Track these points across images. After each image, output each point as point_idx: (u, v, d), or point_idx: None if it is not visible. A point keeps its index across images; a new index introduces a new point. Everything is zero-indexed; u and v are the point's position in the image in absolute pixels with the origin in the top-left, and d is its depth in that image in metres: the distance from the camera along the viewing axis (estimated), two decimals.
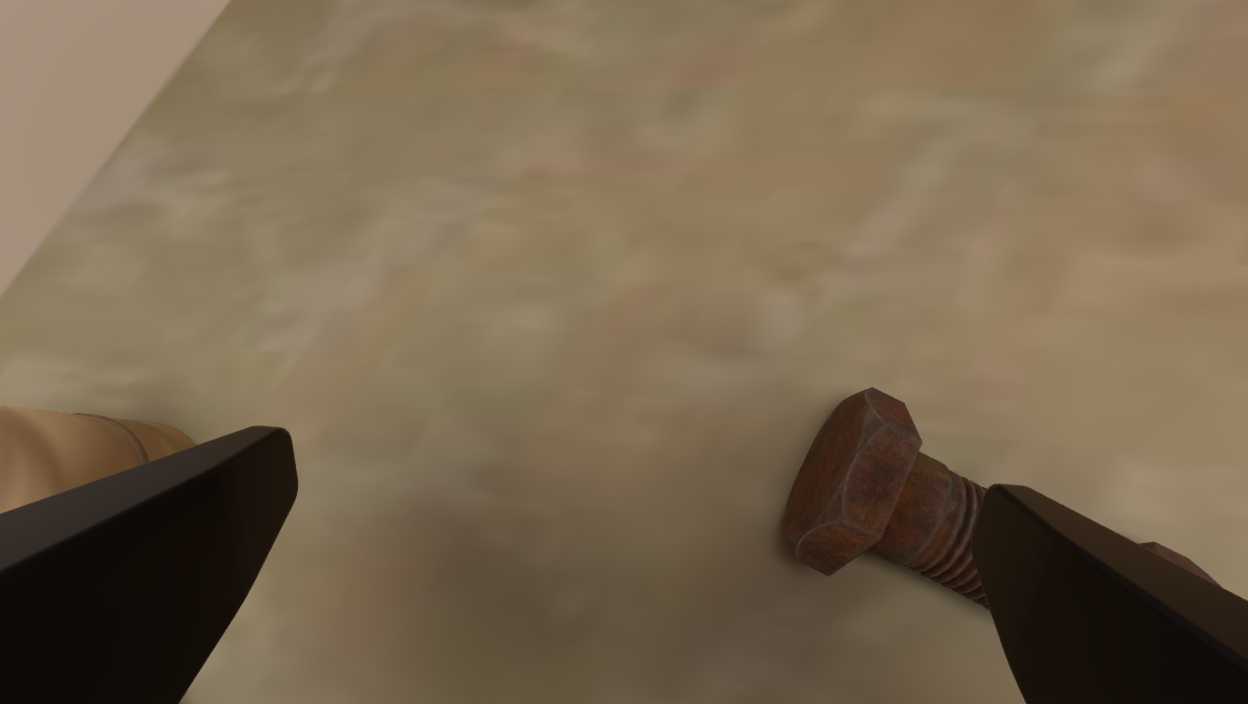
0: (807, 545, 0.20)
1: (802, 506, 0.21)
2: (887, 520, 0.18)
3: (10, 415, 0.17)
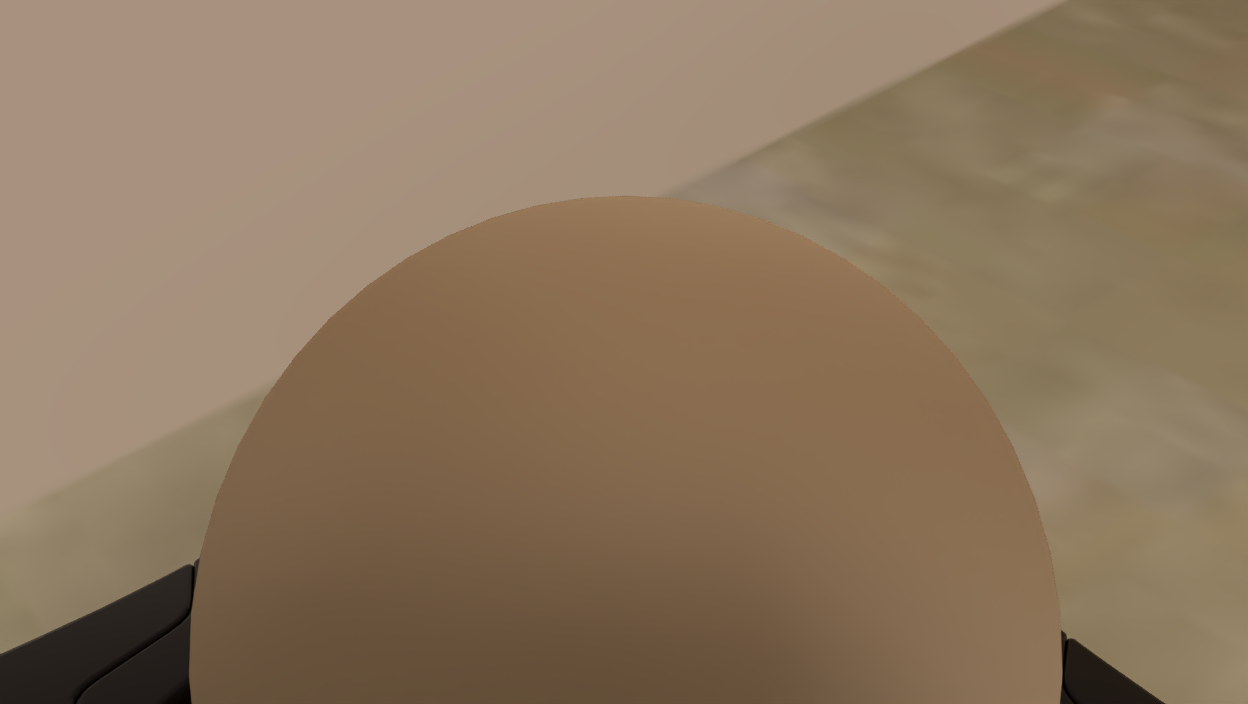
0: None
1: None
2: None
3: None
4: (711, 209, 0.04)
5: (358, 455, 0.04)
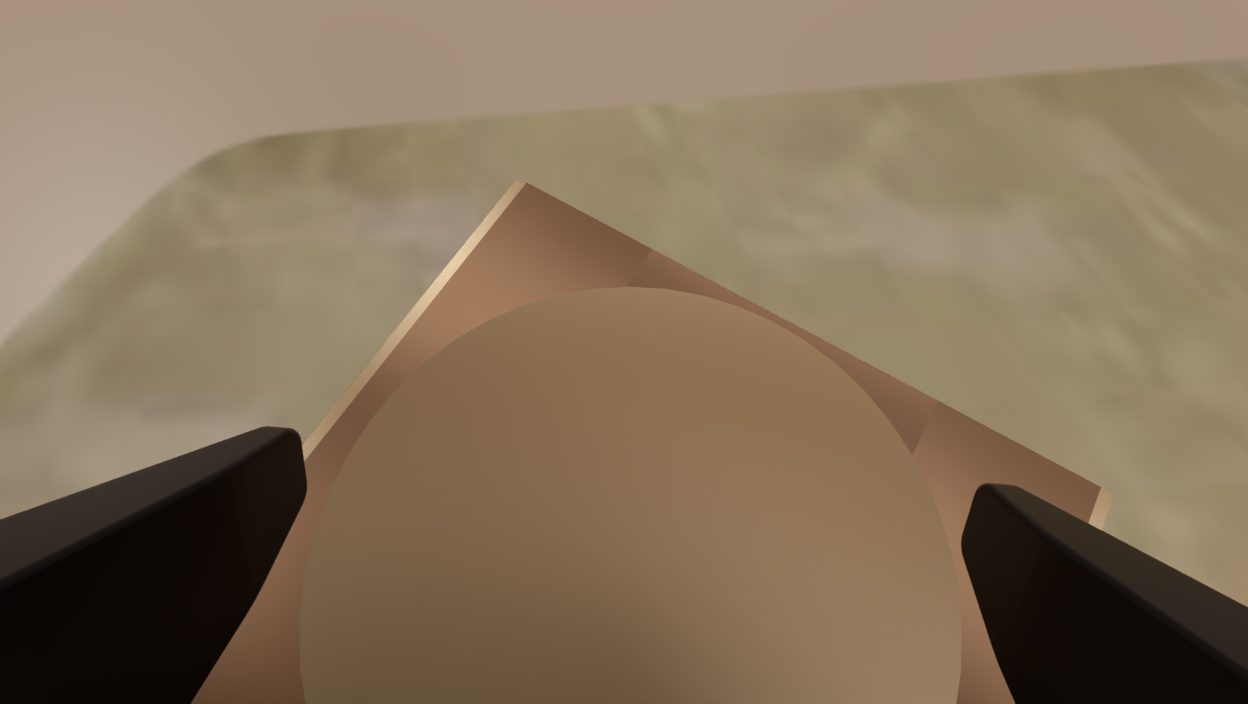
0: None
1: None
2: None
3: None
4: (699, 298, 0.06)
5: (422, 500, 0.05)
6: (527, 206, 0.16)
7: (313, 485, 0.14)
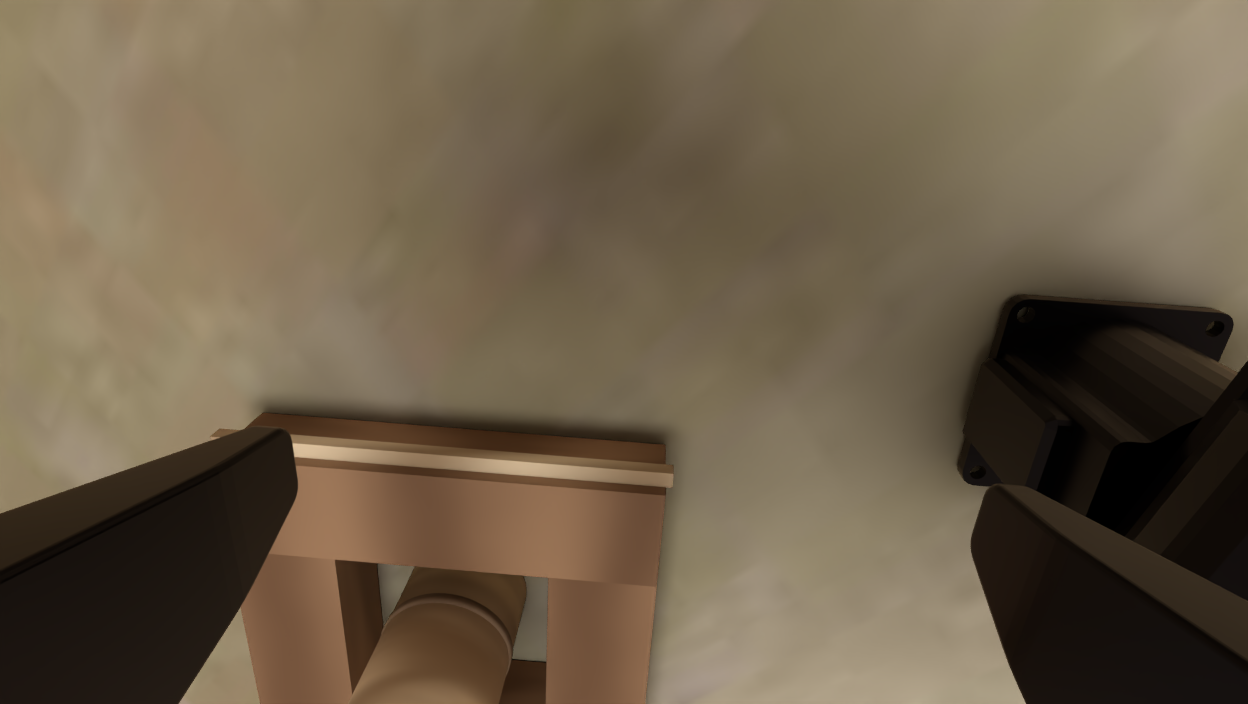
0: None
1: None
2: None
3: None
4: None
5: None
6: None
7: None
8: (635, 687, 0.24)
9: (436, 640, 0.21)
